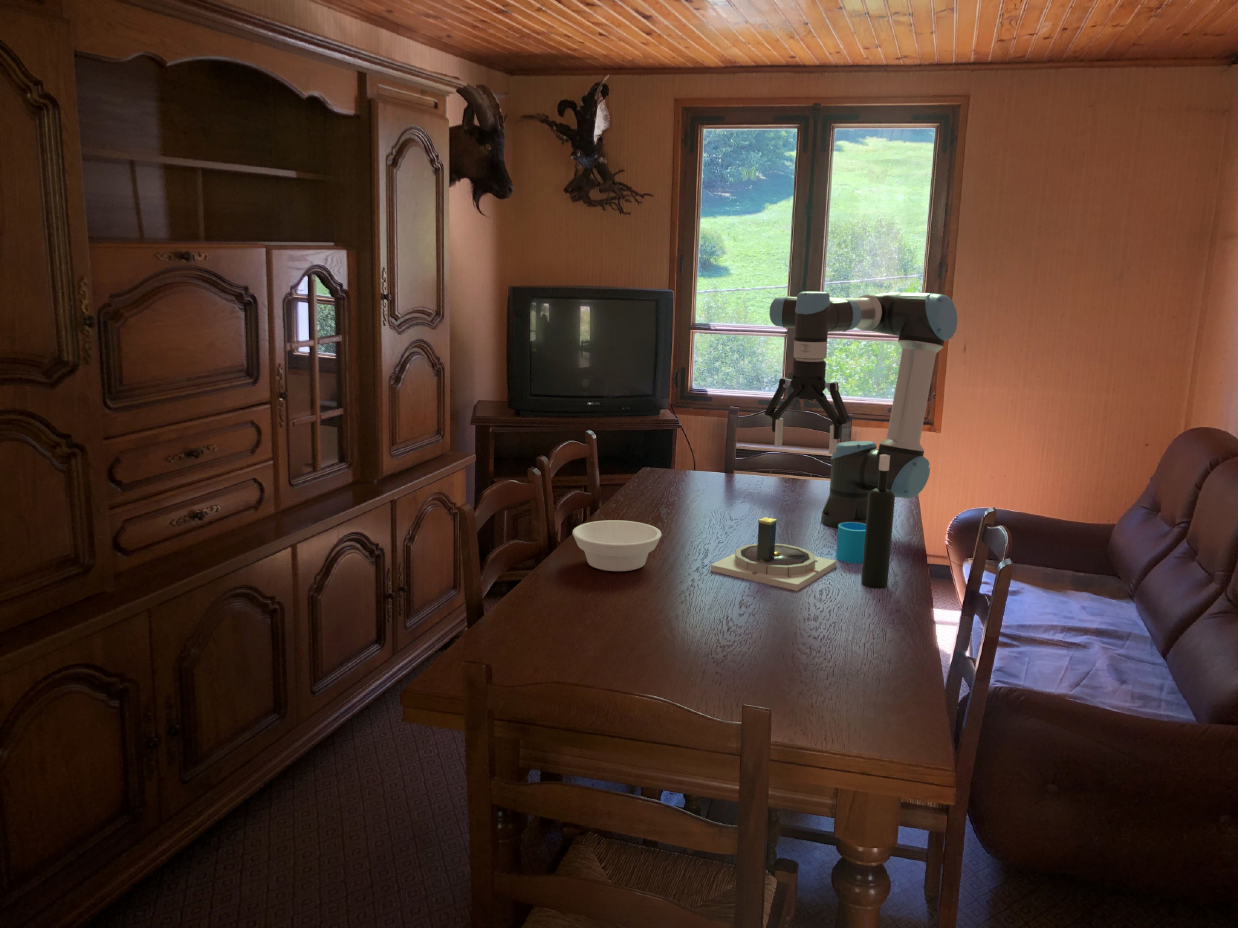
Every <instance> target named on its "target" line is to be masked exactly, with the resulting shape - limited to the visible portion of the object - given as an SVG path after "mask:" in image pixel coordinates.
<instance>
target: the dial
mask: <svg viewBox="0 0 1238 928" xmlns="http://www.w3.org/2000/svg"><path fill="white" fill-rule="evenodd" d="M777 522H778V519H776V518H771V517H765V516H764V517H762V518H760V519H758V520H757V523H758V526H757V527H758V528H757V529H758V530H757V544H758V545H757V547H753V548H750V549H748V550H746V552H745V558H746V559H748V560H750V561H754V562H758V563H763V564H767V565H786V566H787V565H795V564H802V563H804V562H805V555H804V554H803V553H801V552H799V551H797V550H794V549H790V548H785V547H778V546H775V544H776V537H777V534H776V533H777Z"/></svg>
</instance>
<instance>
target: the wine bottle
mask: <svg viewBox="0 0 1238 928" xmlns="http://www.w3.org/2000/svg"><path fill="white" fill-rule="evenodd" d="M889 462H890V455H886V454H882V455H880V460H879V478H878V488H875V489H873V490H871V491H870V493H869V495H868V505H867V518H866V531H865V543H864V556H863V563H862V571H861V572H862V573H861V581H860V583H861V585H863V586H864V587H868V588H871V589H883V588H884V589H885V588H887V587H888V585H889V584H888V583H889V574H890V573H889V570H890V560H891V558H890V557H891V549H892V538H893V537H892V535H893V526H894V525H893V524H894V516H895V515H894V514H895V513H894V512H895V502H896V501H895V500H896V497H895V495H894V493H893V492H892V491H891V490H889V489H887V481H888V471H889Z"/></svg>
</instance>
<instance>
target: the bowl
mask: <svg viewBox="0 0 1238 928" xmlns="http://www.w3.org/2000/svg"><path fill="white" fill-rule="evenodd" d="M662 535H663V534H662V532H661V530H660V529H659V528H657V527H655V526H653V525H651V524H647V523H644V522H638V521H631V520H621V519H620V520H619V519H617V520H615V519H614V520H611V519H609V520H598V521H597V520H596V521H591V522H590V521H589V522H586V523H581V524H580V525H577V526H576V527H574V529H573V530H572V536H573V537H574V540H575V543H576V544H577V547H579V549H580V550H582V551H584V553H585V554H584V555H585V557H586V562H587V563H588V565H589V566H591V567H592V568H595V569H599V570H603V571H610V572H627V571H633V570H637V569H638V570H639V569H640V568H642V567H644V566H645V564H646V562H647V559H648V555H649V553H650V552H653V551H654V550H655V549H656V547H657V545H658V543H659V541H660V540H661V537H662Z"/></svg>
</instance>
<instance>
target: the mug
mask: <svg viewBox="0 0 1238 928" xmlns="http://www.w3.org/2000/svg"><path fill="white" fill-rule="evenodd" d="M865 531H866V524H863V523H856V522H845V523H840V524H839V525H838V528H837V536H836V537H837V538H836V550H835V551H836V554H835V558H836V559H837V560H839V561H841V562H844V563H849V564H863V556H864V543H865Z"/></svg>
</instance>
